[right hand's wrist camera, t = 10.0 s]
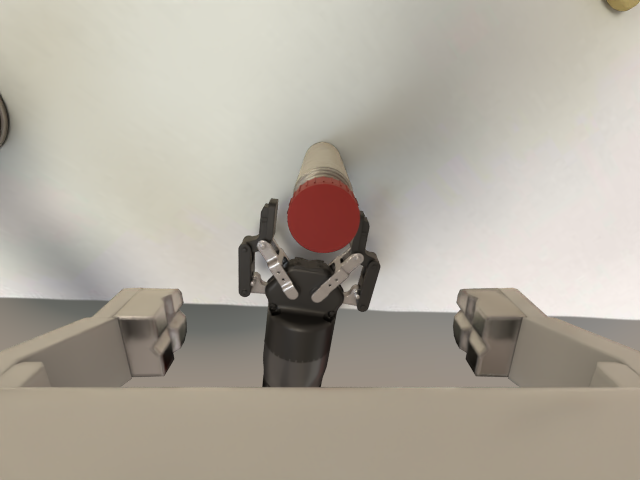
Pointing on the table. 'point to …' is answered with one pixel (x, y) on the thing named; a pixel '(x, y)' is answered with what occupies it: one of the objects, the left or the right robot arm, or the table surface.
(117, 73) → the table surface
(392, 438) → the right robot arm
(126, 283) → the table surface
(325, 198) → the cap
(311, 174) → the bottle
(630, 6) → the toy gun
